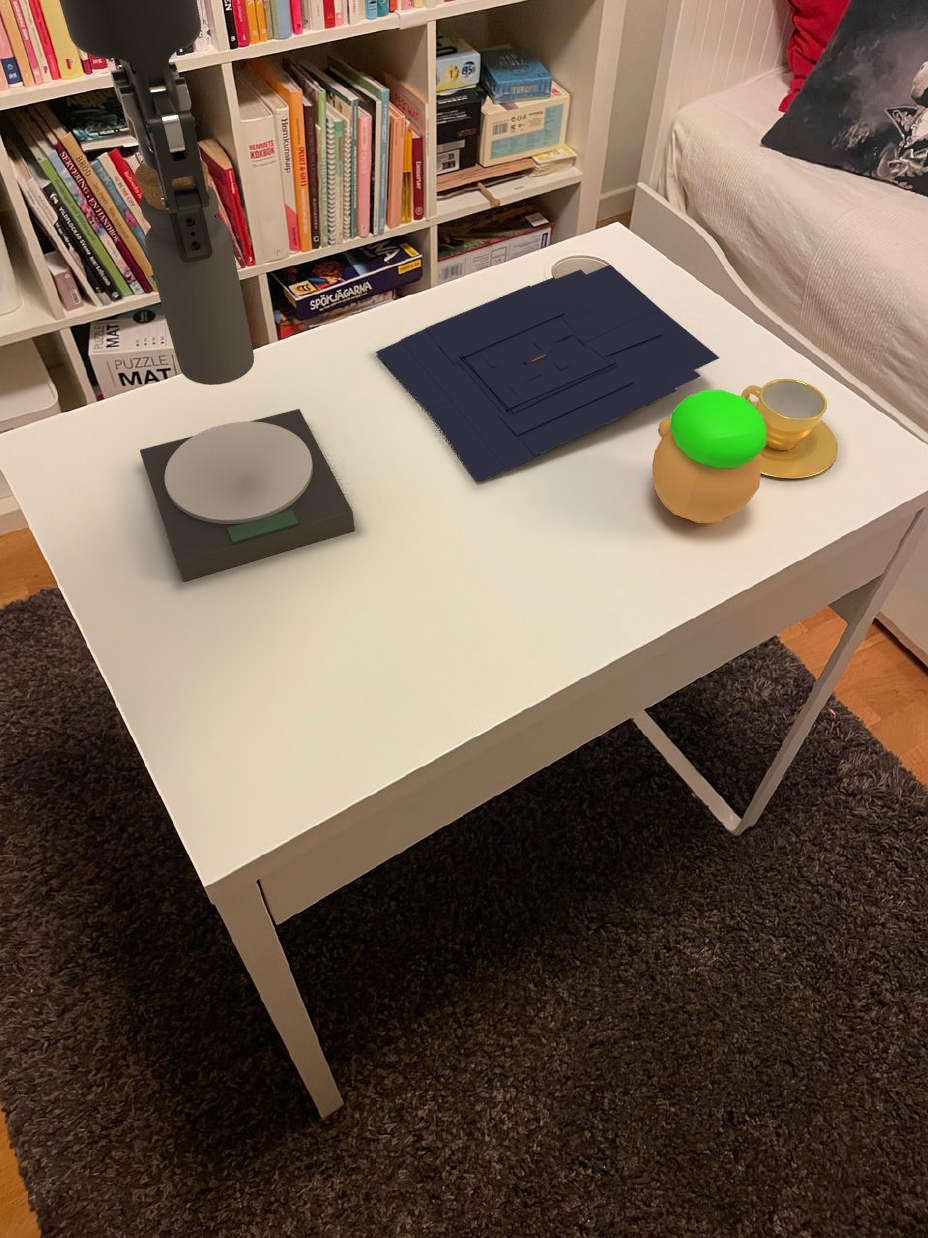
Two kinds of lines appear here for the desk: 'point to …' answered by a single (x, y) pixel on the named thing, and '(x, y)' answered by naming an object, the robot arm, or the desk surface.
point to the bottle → (198, 291)
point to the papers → (544, 366)
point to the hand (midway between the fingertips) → (185, 234)
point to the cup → (793, 429)
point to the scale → (245, 493)
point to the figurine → (709, 456)
